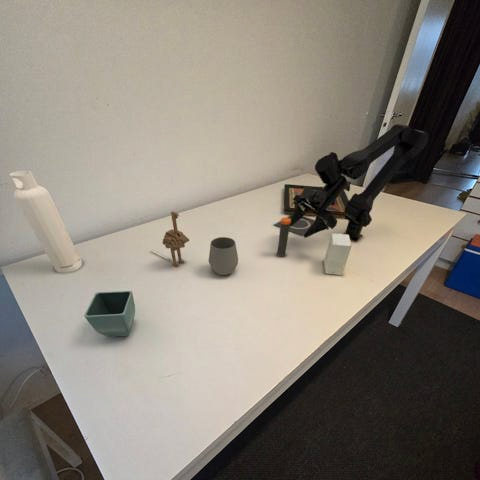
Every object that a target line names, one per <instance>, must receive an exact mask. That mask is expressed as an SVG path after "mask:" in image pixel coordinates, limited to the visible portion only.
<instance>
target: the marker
mask: <svg viewBox="0 0 480 480" xmlns="http://www.w3.org/2000/svg"><path fill="white" fill-rule="evenodd" d="M280 221H281V227H279V235H278V243H277V251H276V256H277V257H279V258H284V257H286V252H287V247H288V242H289V241H288V240H289V233H290V231H289V228H290V223H291V219H290V218H287V217H282V218H280Z"/></svg>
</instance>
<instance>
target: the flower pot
mask: <svg viewBox="0 0 480 480" xmlns="http://www.w3.org/2000/svg"><path fill="white" fill-rule="evenodd" d="M135 316H136V304H135V298H134V295H133V291H132V290H119V291H98V292H95V293H94V295H93V297H92V299H91V301H90V303H89V305H88V306H87V309H86V311H85V313H84V315H83V317H84V318H85V320H86V321H87V322H88V323H89V324H90V326H91V327H92V328H93V329H94V330H95V331H96V332H97V333H98V334H101V335H102V336H105V337H107V338H108V337H109V338H112V337H113V338H114V337H128V336H130V334H131V331H132V328H133V327H132V326H133V324H134V320H135Z"/></svg>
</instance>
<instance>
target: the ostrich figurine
mask: <svg viewBox="0 0 480 480" xmlns="http://www.w3.org/2000/svg"><path fill="white" fill-rule="evenodd" d="M170 216H171V221H172V228H171V229H170V230H168V231H167V230H166V231H165V234H164V235H163V239H162V245H164V247H165V249H170V254H171V255H170V256H171V259H172V265H173V266H175V267H177V268H178V267H179V263H180V264H185V261H184V260H183V258H182V252H181V249H183V248H185V247H186V245H185V244H186V243H189V242H190V238H189V237H188V236H186V235H185V234H184V232H183V231H181V230H179V229H178V225H177V223H178V222H177V219H178V218H179V217H180V214H179V213H178V212H176V211H170ZM151 252H152V253H155V254H157V255H158V256H160V257H162V258H164V259H166V260H168V261H169V260H170V259H169V256H168V257H167V256H166V255H164V254H161V253H160V252H157V251H156V250H151ZM175 252H176V253H175ZM176 255H177V257H176ZM177 259H178V262H177Z"/></svg>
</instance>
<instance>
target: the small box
mask: <svg viewBox="0 0 480 480" xmlns="http://www.w3.org/2000/svg"><path fill="white" fill-rule="evenodd" d="M351 250H352V243H351V240H350V238H349V235H346V234H343V233H337V232H336V233H334V232H331V233H330V237H329V241H328V244H327V249H326V252H325V256H324V259H323V264H324V266H323V267H324V274H327V275H328V274H329V275H338V276H342V275H343V273H344V270H345V267H346V264H347V262H348V258H349V256H350V252H351Z"/></svg>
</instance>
